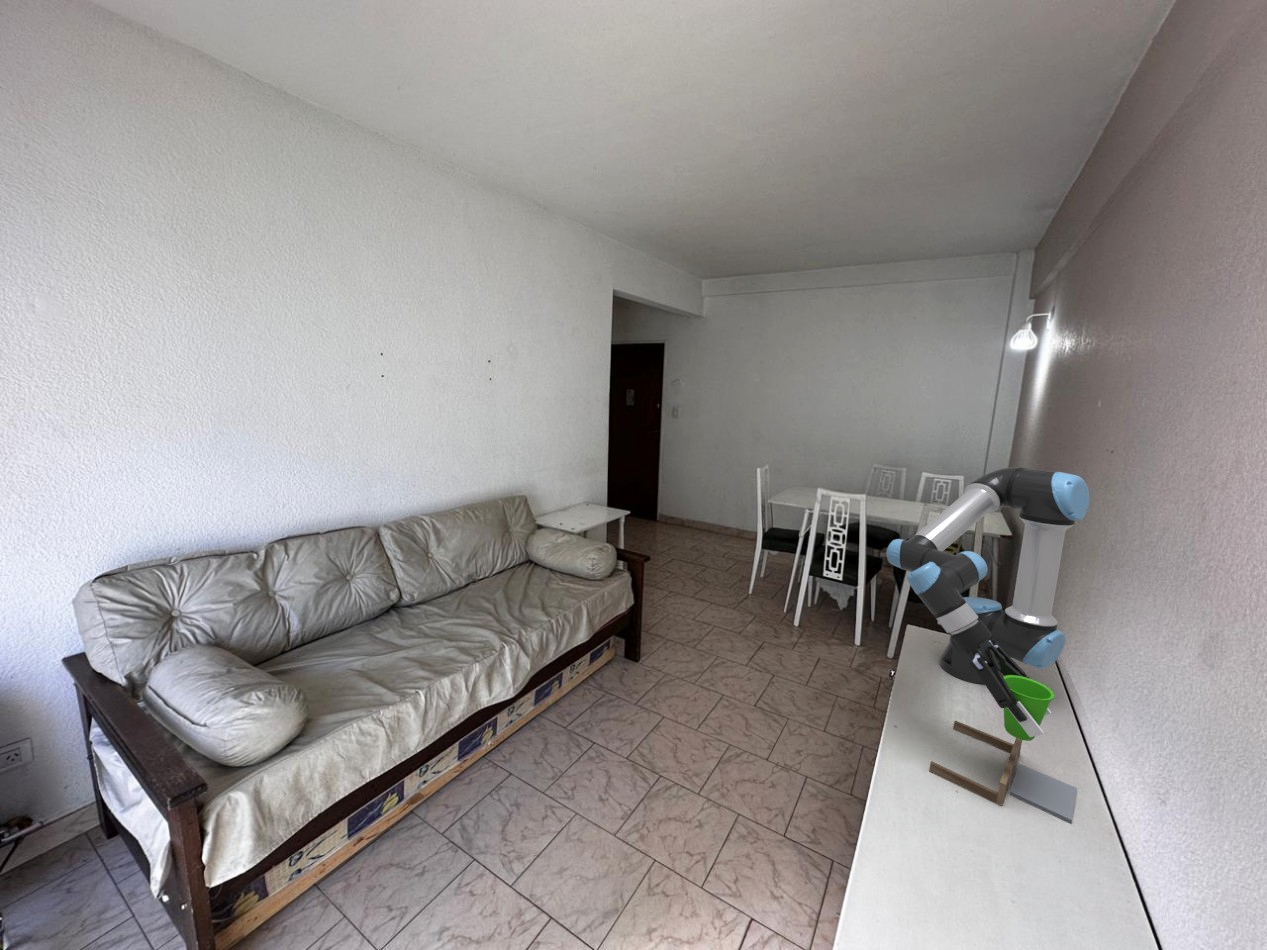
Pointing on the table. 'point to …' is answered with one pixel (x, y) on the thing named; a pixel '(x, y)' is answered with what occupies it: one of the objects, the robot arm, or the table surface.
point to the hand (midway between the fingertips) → (1040, 724)
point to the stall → (974, 786)
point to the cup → (1026, 703)
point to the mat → (1044, 792)
